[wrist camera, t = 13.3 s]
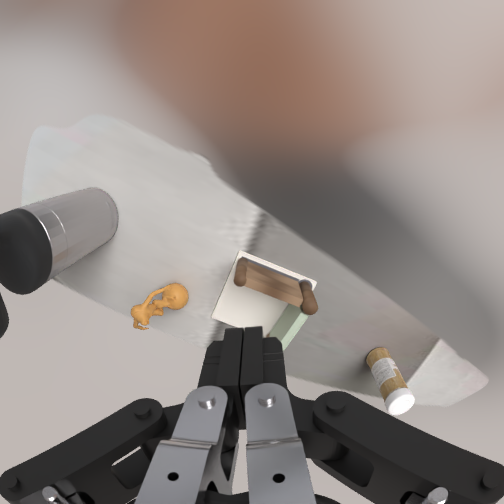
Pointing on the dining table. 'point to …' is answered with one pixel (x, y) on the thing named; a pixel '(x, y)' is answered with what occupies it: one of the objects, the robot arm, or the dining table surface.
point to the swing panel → (288, 324)
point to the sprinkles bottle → (389, 382)
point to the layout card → (253, 299)
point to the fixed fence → (275, 285)
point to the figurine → (159, 304)
